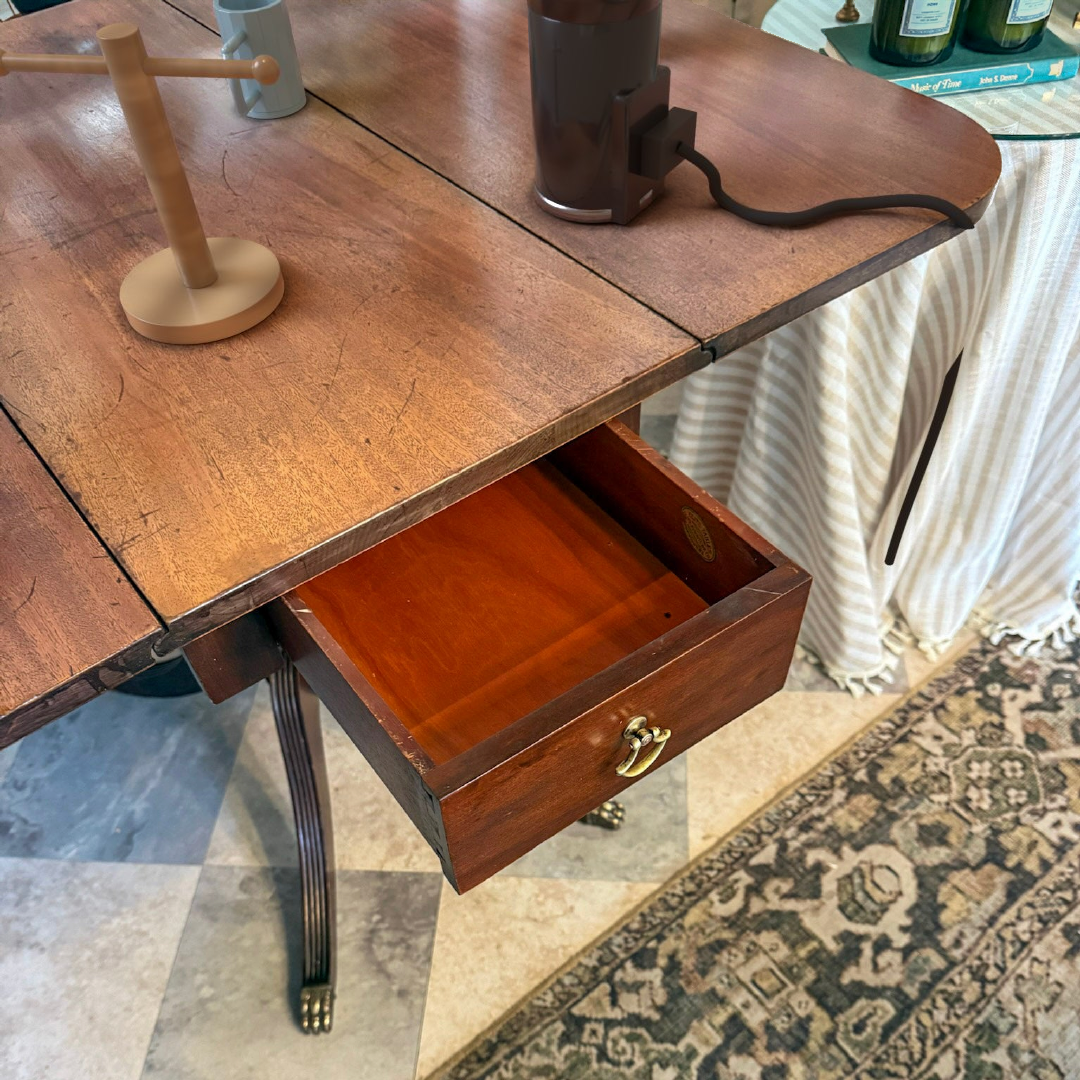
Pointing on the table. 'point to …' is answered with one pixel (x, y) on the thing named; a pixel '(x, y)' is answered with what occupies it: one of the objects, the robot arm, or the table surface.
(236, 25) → the mug
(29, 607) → the table surface
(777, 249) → the table surface
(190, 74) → the mug tree
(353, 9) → the table surface
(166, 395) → the table surface
